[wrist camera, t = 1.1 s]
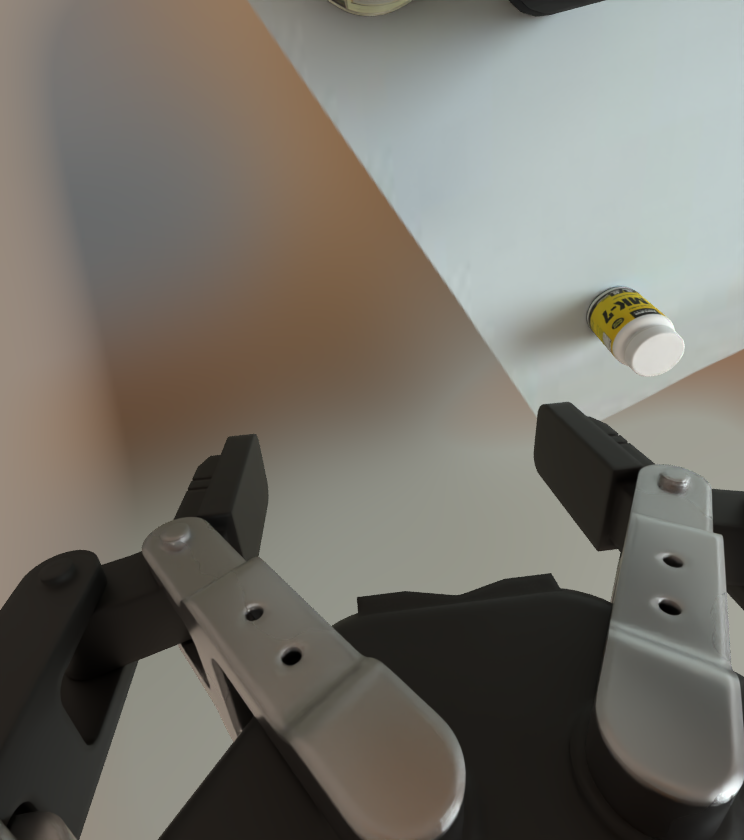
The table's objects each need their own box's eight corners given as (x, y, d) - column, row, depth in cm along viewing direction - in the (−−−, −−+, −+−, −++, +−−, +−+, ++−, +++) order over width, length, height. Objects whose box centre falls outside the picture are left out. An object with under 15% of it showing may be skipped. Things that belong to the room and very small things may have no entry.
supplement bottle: (633, 275, 41) (686, 316, 34) (644, 317, 43) (696, 363, 36) (579, 302, 42) (620, 347, 35) (592, 341, 45) (633, 390, 38)
